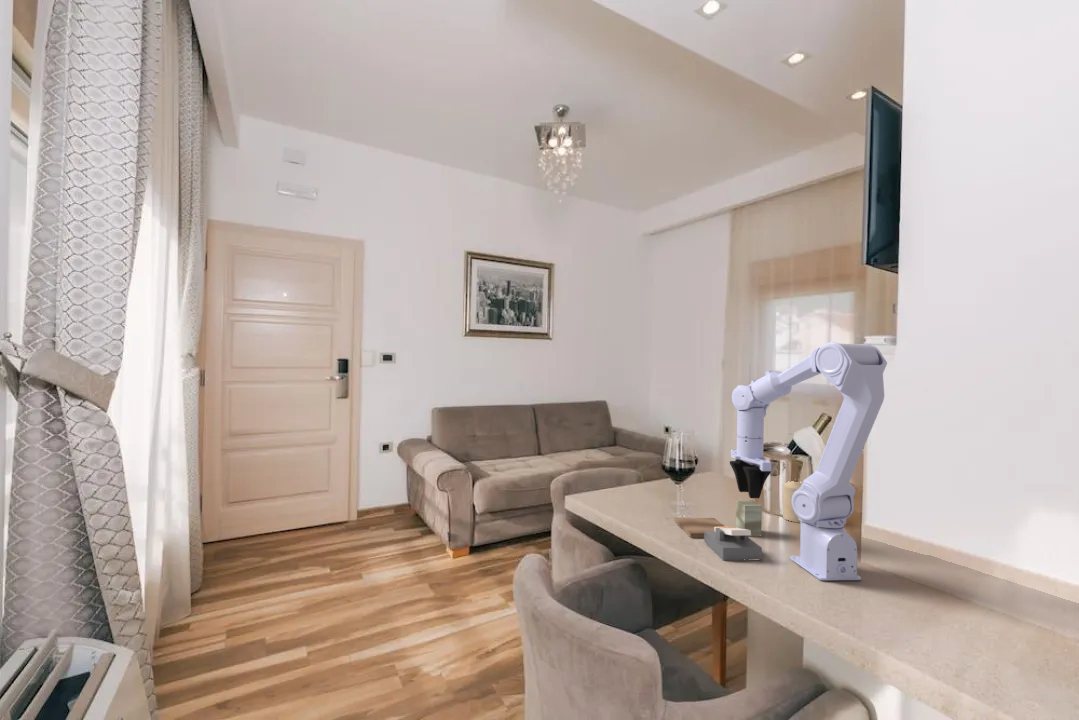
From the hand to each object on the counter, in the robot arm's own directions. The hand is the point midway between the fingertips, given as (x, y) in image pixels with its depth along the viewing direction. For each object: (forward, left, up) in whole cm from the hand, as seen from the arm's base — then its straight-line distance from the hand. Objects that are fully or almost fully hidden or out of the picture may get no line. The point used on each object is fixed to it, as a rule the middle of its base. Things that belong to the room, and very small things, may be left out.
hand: (749, 494), depth 106 cm
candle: (+9, -17, -9) cm, 21 cm away
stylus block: (0, 0, -9) cm, 9 cm away
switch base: (-10, +9, -9) cm, 16 cm away
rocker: (-10, +9, -5) cm, 14 cm away
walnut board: (+2, +10, -9) cm, 14 cm away
